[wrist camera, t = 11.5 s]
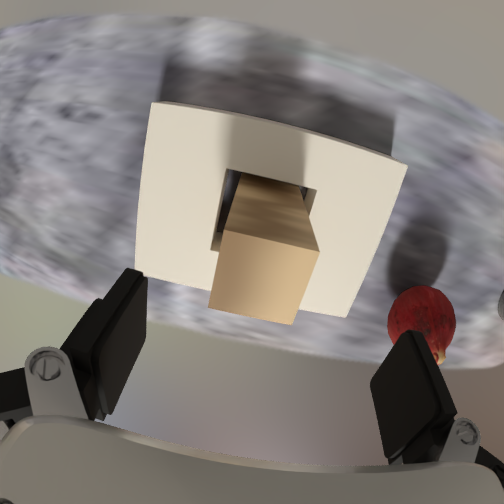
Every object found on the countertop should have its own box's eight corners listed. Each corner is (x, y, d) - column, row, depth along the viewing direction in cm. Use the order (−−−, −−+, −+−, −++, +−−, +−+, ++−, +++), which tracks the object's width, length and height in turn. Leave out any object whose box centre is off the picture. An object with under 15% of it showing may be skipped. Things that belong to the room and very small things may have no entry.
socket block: (391, 156, 20) (407, 165, 18) (338, 295, 26) (345, 317, 23) (166, 101, 19) (151, 102, 17) (147, 253, 25) (134, 273, 22)
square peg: (298, 185, 22) (320, 252, 13) (283, 236, 24) (291, 325, 15) (242, 171, 22) (223, 229, 13) (230, 223, 23) (207, 307, 14)
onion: (368, 288, 25) (396, 355, 18) (426, 256, 24) (471, 314, 17) (387, 330, 28) (413, 395, 20) (439, 303, 26) (476, 361, 19)
